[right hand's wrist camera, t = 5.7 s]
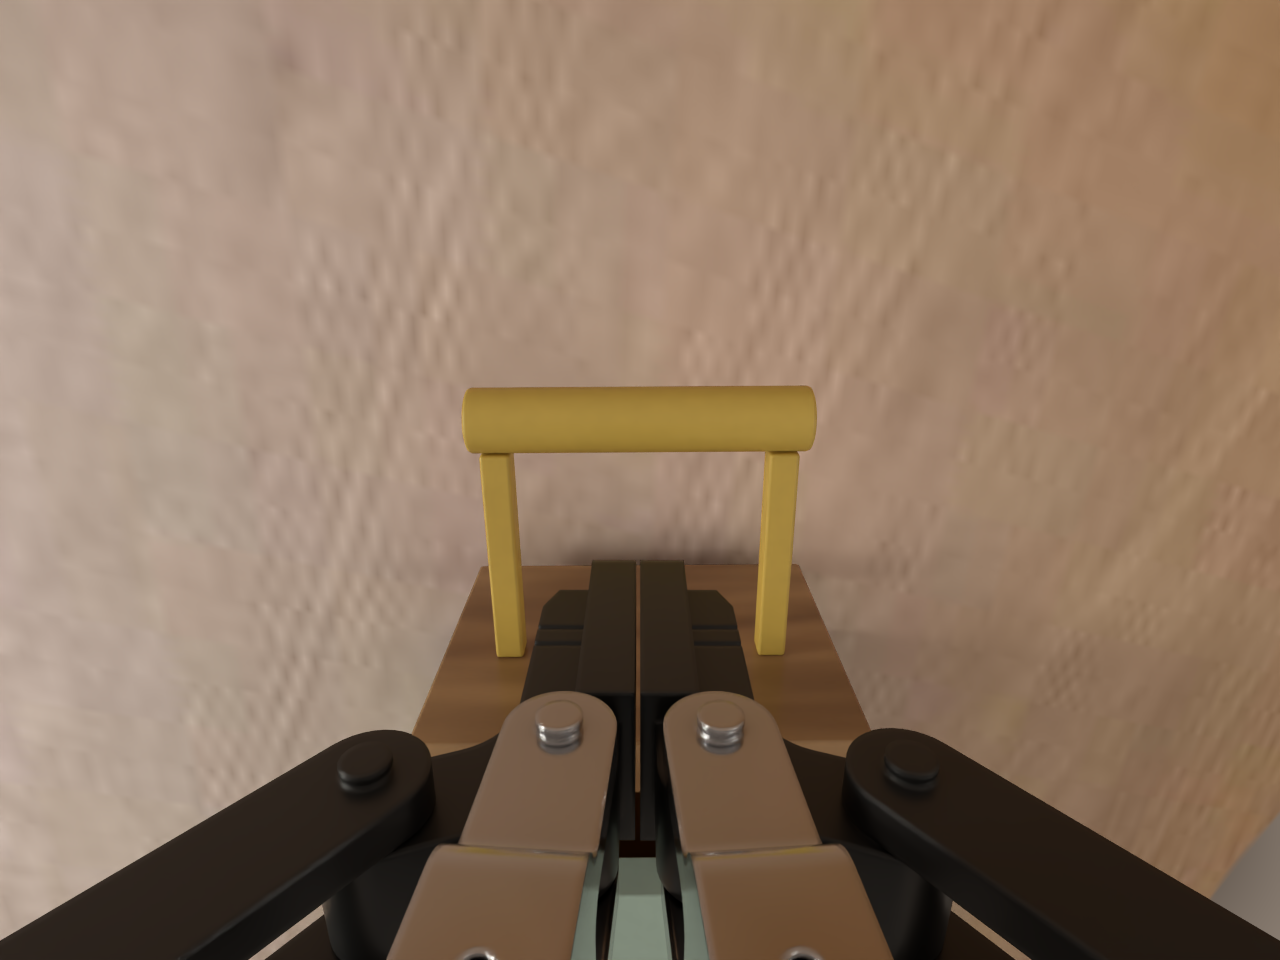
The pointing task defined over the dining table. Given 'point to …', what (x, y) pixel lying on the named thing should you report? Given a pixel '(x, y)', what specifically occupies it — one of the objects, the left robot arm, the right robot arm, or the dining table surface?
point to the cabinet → (639, 912)
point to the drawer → (760, 593)
